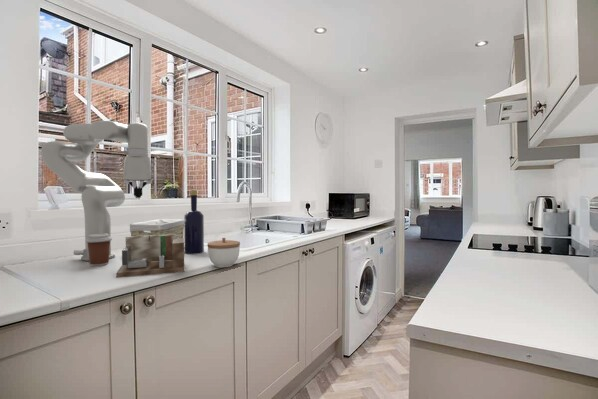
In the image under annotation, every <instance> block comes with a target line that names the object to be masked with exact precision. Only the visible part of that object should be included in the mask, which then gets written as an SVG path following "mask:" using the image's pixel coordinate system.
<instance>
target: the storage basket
mask: <svg viewBox="0 0 598 399" xmlns="http://www.w3.org/2000/svg"><path fill="white" fill-rule="evenodd" d="M129 232H130V236H150V235H173V234H176V238H184V219H183V218H181V219H177V218H175V219H174V218H172V219H171V218H157V219H152V220H145V221H141V222H140V221H139V222H132V223H129Z"/></svg>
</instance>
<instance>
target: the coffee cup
mask: <svg viewBox="0 0 598 399" xmlns="http://www.w3.org/2000/svg"><path fill="white" fill-rule="evenodd" d="M112 240H113V237H112V236H111V237H110V236H109V234H91V235H89V238H87V239H86V240H85V239H84V243H85V242H87V243H88V252H89V260H90V261H89V266H90V267H99V266H107V265H109V261H110V260H109V250H110V241H111V242H112Z"/></svg>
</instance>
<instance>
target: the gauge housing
mask: <svg viewBox="0 0 598 399" xmlns="http://www.w3.org/2000/svg"><path fill="white" fill-rule="evenodd" d="M161 241H162V256H164V268H159V256H161ZM126 246H131V259H138V258H148V264H147V267H140V268H128V265H122V264H121V266H120V267H119V269H118V270H117V271H116V274H115V277H116V278H125V277H137V276H148V275H149V276H150V275H160V274H172V273H173V274H175V273H184V272H185V239H184V237H183V238H176V234H173V235H150V236H131V235H130V236H129V235H128V236H127V235H126V236H125V247H126Z"/></svg>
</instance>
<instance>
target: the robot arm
mask: <svg viewBox="0 0 598 399" xmlns="http://www.w3.org/2000/svg"><path fill="white" fill-rule="evenodd" d="M148 131H149V130H148V125H146V124H144V123H141V122H130V123H128V124H124V123H121V122H116V121H112V120H94V121H93V122H91V123H72V124H68V125H66V126H65V127H64V129H63V134H62V135H63V137H64V138H65V139H66V140H67V141H68V142H65V141H59V140H57V141H56V140H55V141H54V140H53V141H52V140H51V141H47V142H45V143H44V144H43V145H42V146H41V150H40V151H41V152H40V154H41V158H42V161H43V163H44V165H45V166H46V167H47V168H48V170H50V171H51V172H53V173H54V175H56V176H58V177H59V178H60V179H61V180H62V181H63V182H64V183H65V184H66V185H67V186H69V187H70V189H72V190H73V191H74V192H76V193H78V194H81V197H80V198H81V202H82V207H83V214H84V248H83V249H74V250H73V255H76V256H80V255H82V256H81V257H80V260H81V261H84V262H90V260H89V252H88V243H87V242H85V240H86V239H87V238H89V235H91V234H109V236H110V237H111V238H112V236H111V233H112V232H111V230H112V229H111V228H112V227H111V226H112V224H111V215H110V213H109V210H108V209H107V208H114V207H115V208H117V207H120V206H121V205H122V204H124V202H125V199H126V197H125V196H126V195H125V192H124V191H123V190H122V188H121V187H120V186H119V185H118V184H117V183H115V182H114V181H113V180H112V179H111V178H110V177H108V176H107V175H105V174H103V173H99V172H88V171H86V170H83V169H82V168H80V167H79V165H77V164H76V163H80V162H81V163H82V162H84V161H85V160H86V159H87V158H88V157H89V156H90V155H91V154H92V152H94V150H95V149H97V147H98V145H99V144H100V143H102V142H103V141H105V140H109V141H114V142H119V143H125V144H127V149H125V150H123V154H126V155H127V156H125V158H124V162H123V182H122V183H123V184H125V185H130V186H131V187H132V188H133V196H134V198H136V199H137V198H139V199H141V197H142V196H143V188H145V187H146V185H149V184H153V180H152V177H153V176H152V164H151V158H150V157H149V150H148V149H149V147H148V146H149V139H148V138H149V135H148V133H149V132H148ZM73 162H75V163H73ZM137 182H139V185H138V184H137ZM111 244H112V240H111V241H110V250H109V259H113V258H115V257H116V253H114V252H112V245H111Z"/></svg>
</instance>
